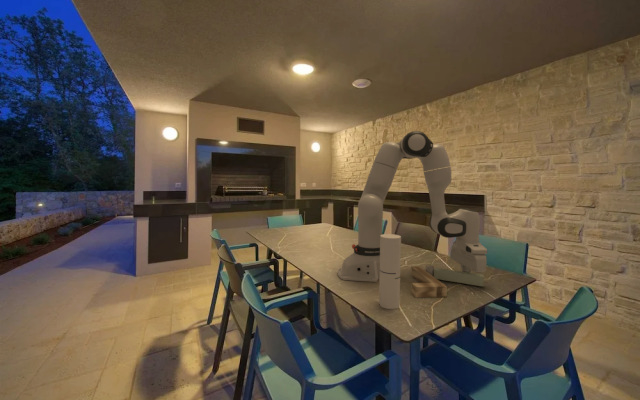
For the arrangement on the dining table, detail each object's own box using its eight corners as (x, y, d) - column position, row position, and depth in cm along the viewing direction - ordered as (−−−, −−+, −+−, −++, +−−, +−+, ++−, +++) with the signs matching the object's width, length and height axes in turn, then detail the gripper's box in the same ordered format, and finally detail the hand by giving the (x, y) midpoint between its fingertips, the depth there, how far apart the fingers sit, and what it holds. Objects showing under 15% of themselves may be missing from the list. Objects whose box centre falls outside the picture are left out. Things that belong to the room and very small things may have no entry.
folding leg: (425, 277, 117) (425, 267, 117) (425, 275, 120) (426, 264, 120) (483, 287, 106) (484, 275, 106) (482, 284, 110) (483, 272, 109)
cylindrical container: (376, 300, 95) (377, 234, 93) (395, 299, 96) (396, 233, 94) (382, 309, 88) (384, 238, 86) (402, 308, 89) (404, 238, 87)
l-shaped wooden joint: (415, 297, 97) (416, 287, 97) (394, 274, 121) (395, 266, 121) (448, 296, 98) (448, 286, 98) (421, 274, 122) (421, 266, 122)
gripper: (447, 239, 123) (446, 267, 124) (475, 251, 103) (473, 284, 104) (460, 239, 123) (458, 267, 124) (490, 251, 103) (488, 284, 104)
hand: (465, 275), depth 114 cm, fingers closed
